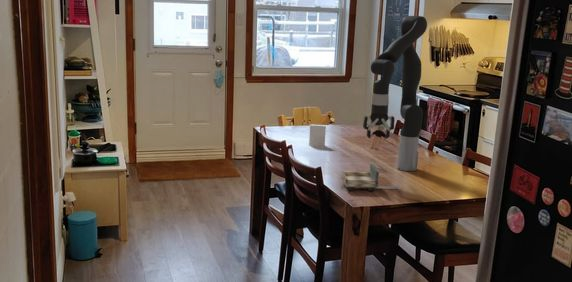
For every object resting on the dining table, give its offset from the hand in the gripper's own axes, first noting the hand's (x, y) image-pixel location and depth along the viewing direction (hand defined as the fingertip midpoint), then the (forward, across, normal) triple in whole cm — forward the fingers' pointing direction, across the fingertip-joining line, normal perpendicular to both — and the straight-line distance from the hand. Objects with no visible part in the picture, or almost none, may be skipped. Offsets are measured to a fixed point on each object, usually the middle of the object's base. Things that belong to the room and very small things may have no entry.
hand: (377, 138), depth 272 cm
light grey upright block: (+20, +21, -62) cm, 69 cm away
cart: (+19, +10, +15) cm, 26 cm away
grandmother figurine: (+6, +1, +1) cm, 6 cm away
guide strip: (+19, +6, +15) cm, 25 cm away
